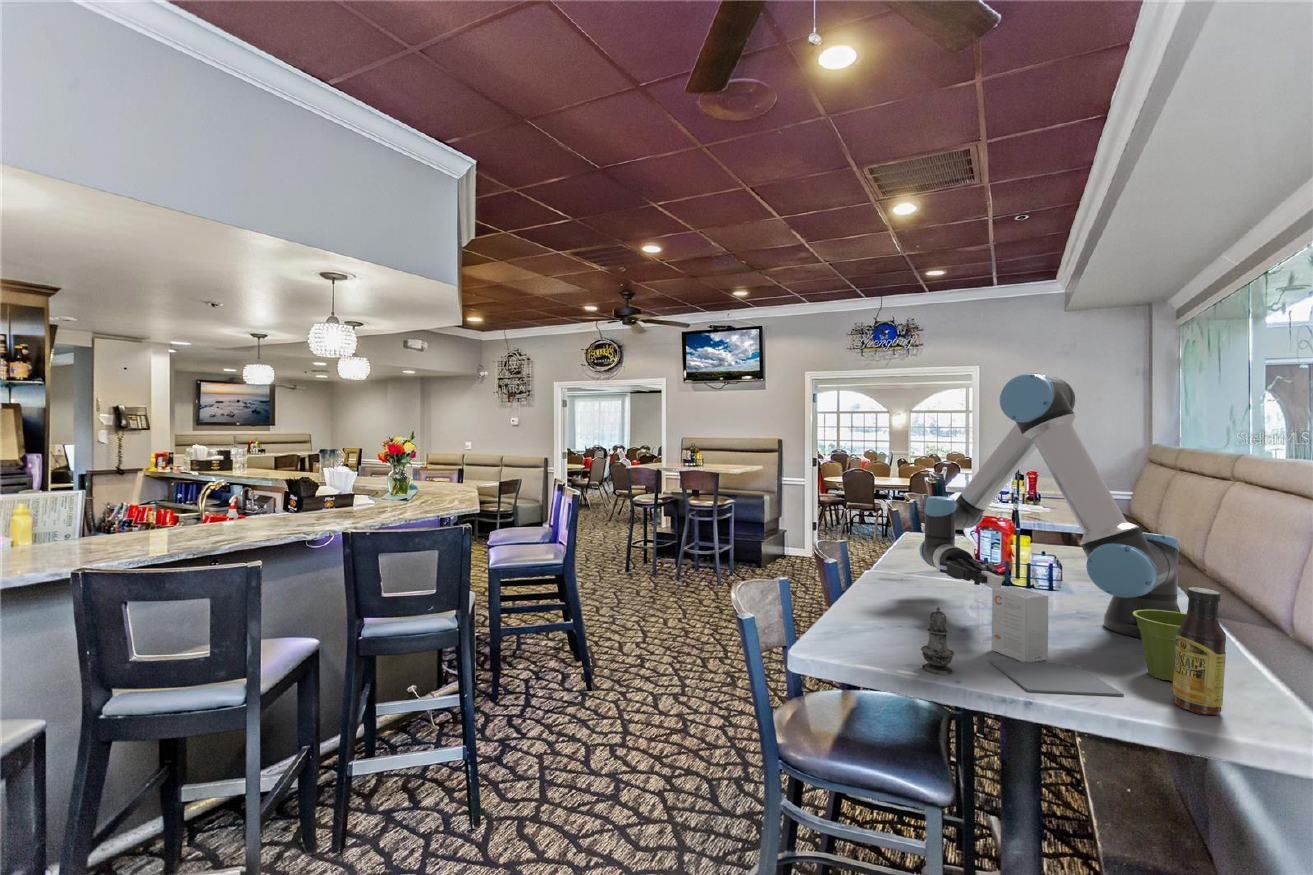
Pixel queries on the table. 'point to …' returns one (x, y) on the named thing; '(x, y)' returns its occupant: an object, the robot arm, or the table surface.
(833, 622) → the table surface
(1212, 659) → the sauce bottle
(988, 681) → the table surface
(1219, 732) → the table surface
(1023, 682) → the rubber mat
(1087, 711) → the table surface
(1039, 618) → the small box
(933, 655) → the salt shaker
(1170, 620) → the plant pot
